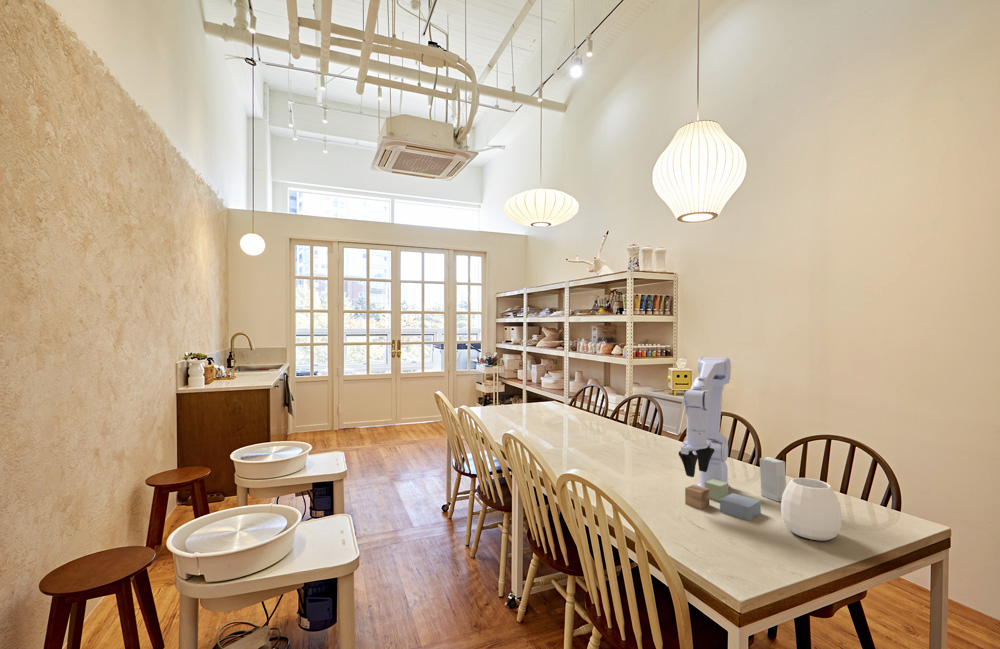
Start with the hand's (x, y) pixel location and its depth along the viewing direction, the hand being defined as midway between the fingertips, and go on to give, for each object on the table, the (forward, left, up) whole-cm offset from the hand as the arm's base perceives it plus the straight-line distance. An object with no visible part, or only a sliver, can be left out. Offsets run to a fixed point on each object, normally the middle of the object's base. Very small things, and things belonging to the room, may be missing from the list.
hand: (696, 473), depth 142 cm
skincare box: (-24, +12, -10) cm, 29 cm away
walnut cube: (0, 0, -10) cm, 10 cm away
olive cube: (-10, +1, -10) cm, 14 cm away
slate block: (-4, +11, -10) cm, 15 cm away
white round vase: (-4, +29, -10) cm, 31 cm away
